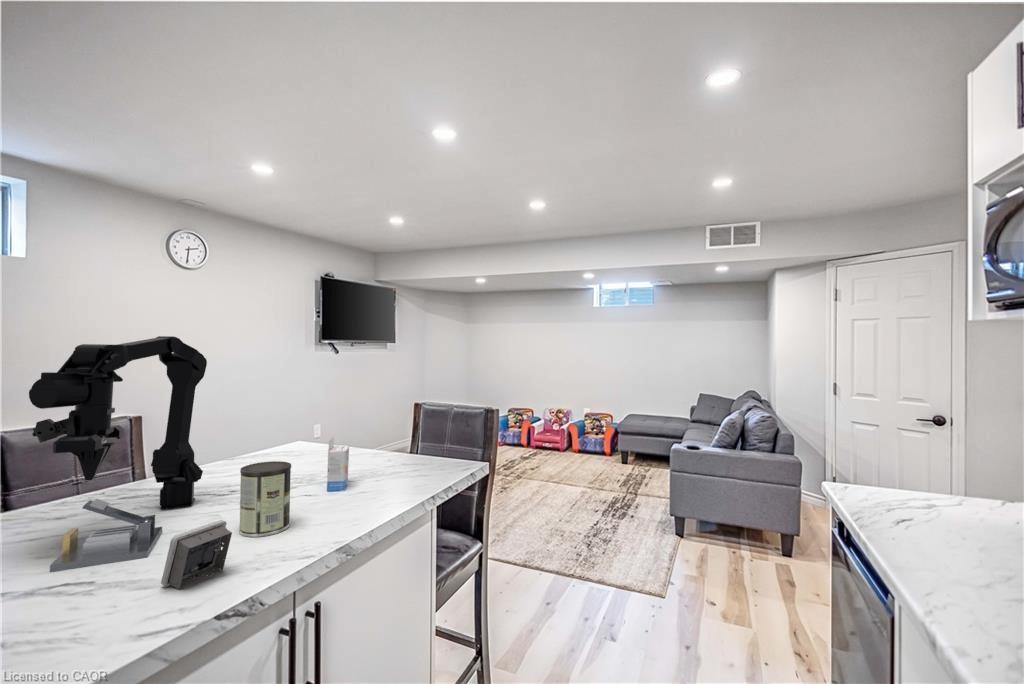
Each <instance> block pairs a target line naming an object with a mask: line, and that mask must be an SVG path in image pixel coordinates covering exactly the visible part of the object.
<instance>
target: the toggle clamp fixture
mask: <svg viewBox="0 0 1024 684" xmlns="http://www.w3.org/2000/svg"><path fill="white" fill-rule="evenodd" d="M144 517H145V518H149V517H150V518H152V519H153V521H152V523H151V522H145V523H139V524H138V525H135V524H130V525H122V526H121V525H119V526H113V527H106V528H105V527H104V528H95V530H94V531H93V532H91V534H89V535H87V536H79V527H75V528H74V527H72V528H70V529H69V531H67V532H66V533H65V534H64V535H63V536H62V549H61V550H62V551H61V552H62V553H61V554H60V555H59V556H58V557H57V558H56V559H54V561H53V562H52V563H51V564H50V565H49V573H51V572H59V571H66V570H71V569H79V568H85V567H92V566H98V565H104V564H105V565H106V564H111V563H119V562H124V561H125V562H126V561H132V560H137V559H138V560H139V559H145V558H148V557H149V555H150V553H151V552H152V551H153V549H154V547H155V545H156V544H157V542H158V540H159V539H160V537H161V535H162V533H163V526H159V527H158V526H157V527H156V514H151V515H150V514H149V515H144Z"/></svg>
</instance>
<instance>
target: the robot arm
mask: <svg viewBox="0 0 1024 684" xmlns="http://www.w3.org/2000/svg"><path fill="white" fill-rule="evenodd" d="M155 356H158V359H159V361H160V362H161V363H162V364H163V365H164V366H165V367H166V376H167V378H168V380H169V381H170V384H171V386H172V387H171V394H170V401H169V409H168V414H167V415H168V416H167V417H168V418H167V424H166V432H165V439H164V442H163V444H161V446H160V447H159V449H157V448H156V449H154V450H153V451H152V461H151V463H150V467H152V468H151V471H152V474H153V475H154V479H155V481H156V483H158V484H161V483H162V487H161V488H160V490H159V506H160V511H163V510H170V509H171V510H172V509H173V510H174V509H179V508H189V507H192V506H193V504H194V502H195V501H196V497H195V496H194V494H195V483H198V481H200V480H202V476H203V472H204V471H203V469H201V467H200V466H199V465H198V464H197V463H196V462H195V451H194V449H193V447H192V446H191V443H190V442H189V441H190V432H191V426H192V418H193V409H194V400H195V394H196V386H198V384H199V383H200V382H201V381H202V380H203V378H204V377H205V373H206V369H207V365H208V361H207V358H206V357H205V356H204V354H202V353H201V352H200V351H199V350H198V349H196V348H194V347H192V346H190V345H188V344H186V343H185V342H184V341H182V340H181V339H180V338H179V337H176V336H171V335H170V336H167V335H164V336H163V335H162V336H161V335H158V336H156V337H153V338H146V339H142V340H137V341H130V342H125V343H124V342H123V343H119V344H96V343H95V344H94V343H90V344H89V343H82V344H79V345H76V346H75V347H74V350H73V352H72V353H71V355H70V356H69V357H68V358H67V360H66V361H65V362H64V363H63V365H62V366H61V367H60V368H59V369H58V370H57V372H50V371H49V372H46V371H45V372H44V371H43V372H41V374H40V379H37V380H36V381H35V382H34V383H33V384H32V386H31V388H30V389H29V391H28V398H29V401H30V403H31V404H32V405H33V406H34V407H35V408H37V409H42V410H46V409H55V408H65V407H66V408H67V407H74V406H75V407H74V409H72V410H70V411H69V412H68V417H67V418H64V419H60V420H57V421H54V420H53V419H51V418H46V419H43V420H40V421H37V422H36V423H35V427H34V428H33V427H32V430H33V432H32V434H31V435H32V437H36V438H37V439H38V442H39V443H45V442H48V441H50V440H54V439H56V438H58V437H59V438H58V439H57V440H55V441H54V442H53V444H52V454H62V453H67V454H68V453H71V454H73V455H75V456H76V457H77V459H78V461H79V464H80V467H81V471H82V474H83V477H84V480H85V481H93V480H94V478H96V475H97V473H98V472H99V470H100V469H101V467H102V465H103V463H104V462H105V460H106V459H107V457H108V455H109V453H110V452H111V450H112V448H113V447H114V446H115V445H116V444H115V443H116V442H108V441H107V439H111V438H116V440H121V439H123V438H124V437H125V428H124V427H122V426H121V425H120V424H119V425H118V424H114V425H113V424H112V414H114V413H116V412H115V411H116V407H113V395H114V393H113V392H114V383H117V382H118V383H120V382H123V380H124V379H123V378H122V376H120V375H118V374H117V373H116V370H117V371H118V370H119V369H121V368H123V367H125V366H127V364H128V363H130V362H132V361H136V360H141V359H145V358H150V357H155ZM64 435H65V436H64ZM61 436H62V437H61Z"/></svg>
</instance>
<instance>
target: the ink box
mask: <svg viewBox="0 0 1024 684" xmlns="http://www.w3.org/2000/svg"><path fill="white" fill-rule="evenodd" d="M334 441H335V436H334V435H332V436H331V438H330V439H329V440H328V450H327V453H328V454H327V473H326V474H327V475H326V476H327V477H326V478H327V479H326V481H327V482H326V492H341V491H340V490H344V491H345V489H346V488H347V486H348V484H349V462H350V459H349V458H350V457H349V455H350V445H334V443H335V442H334ZM347 483H348V484H347ZM346 485H347V486H346ZM345 487H346V488H345Z"/></svg>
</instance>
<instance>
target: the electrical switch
mask: <svg viewBox="0 0 1024 684" xmlns="http://www.w3.org/2000/svg"><path fill="white" fill-rule="evenodd" d="M232 534H233V532H232V531H230V530H229V529H228V528H227V522H226V520H223V519H220V520H219V519H218V520H217V521H214V522H211V523H208V524H204V525H202V526H199V527H197V528H196V527H195V528H193V529H190V530H187V531H184V532H181V533H178V534H175V535H174V536H173V537H172V538H171V539H170V544H169V547H168V552H167V556H166V560H165V564H164V569H163V573H162V574H163V575H162V576H161V582H160V584H161V585H162V587H164V588H168V587H170V586H171V587H174V588H176V589H177V590H179V591H180V590H182V589H184V588H187V587H189V586H191V585H194V584H196V583H199V582H200V581H203V580H205V579H208V578H209V577H212V576H214V575H216V574H218V573H219V574H220V572H222V571H224V566H225V563H226V559H227V554H228V550H229V547H230V543H231V538H232V536H233V535H232ZM196 575H197V576H196Z"/></svg>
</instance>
